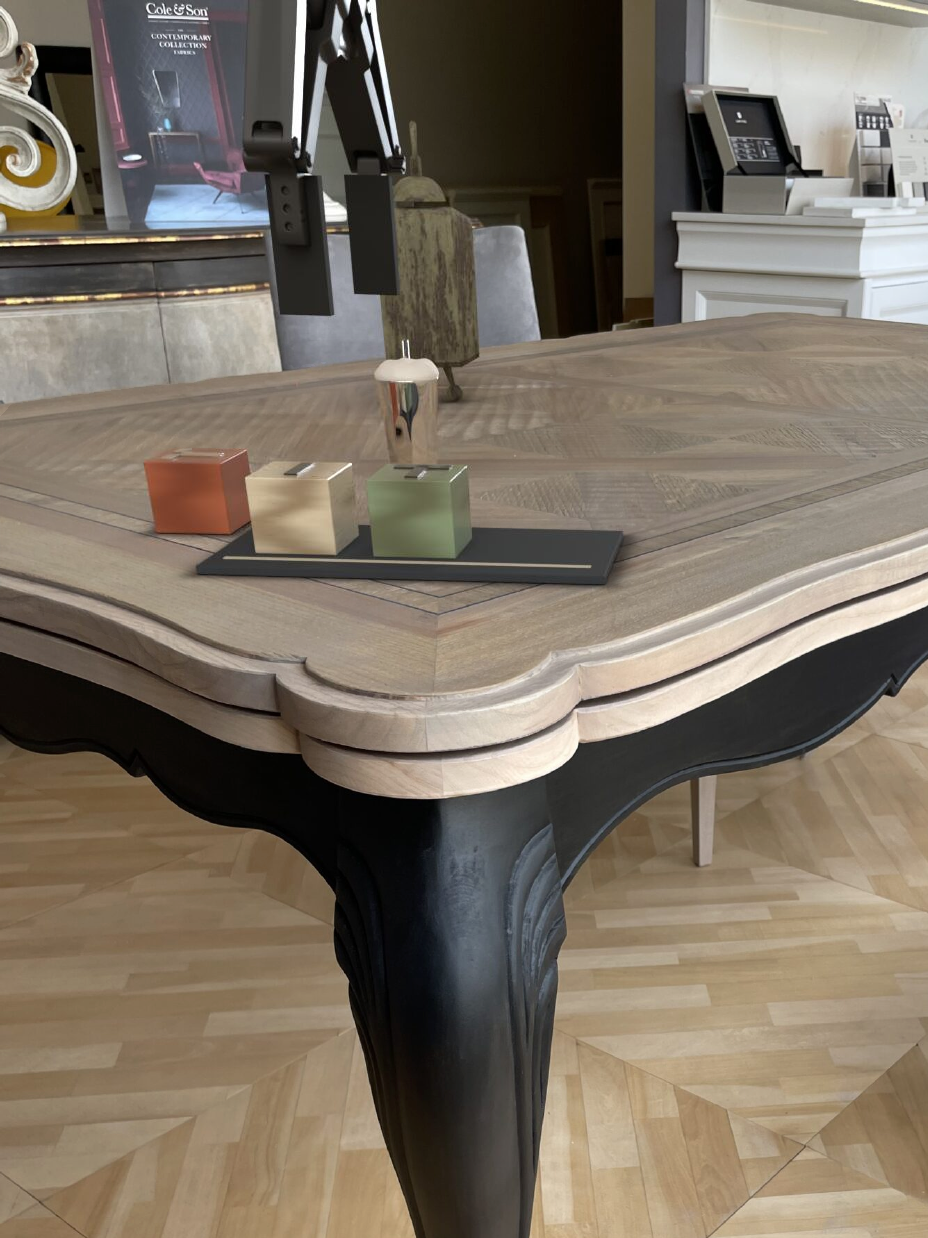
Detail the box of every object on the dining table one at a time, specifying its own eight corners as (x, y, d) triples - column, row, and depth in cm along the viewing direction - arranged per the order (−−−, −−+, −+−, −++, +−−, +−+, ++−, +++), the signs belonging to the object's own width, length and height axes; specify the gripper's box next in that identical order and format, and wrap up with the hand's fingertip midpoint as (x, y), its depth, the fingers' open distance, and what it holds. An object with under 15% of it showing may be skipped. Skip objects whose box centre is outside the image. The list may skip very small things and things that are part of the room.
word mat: (196, 574, 76) (195, 565, 76) (261, 529, 86) (259, 521, 86) (604, 584, 75) (604, 575, 75) (623, 538, 85) (623, 529, 84)
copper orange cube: (155, 533, 85) (142, 460, 83) (185, 515, 89) (174, 445, 87) (230, 534, 85) (219, 461, 83) (257, 517, 89) (247, 447, 87)
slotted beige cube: (255, 554, 79) (243, 475, 76) (282, 534, 83) (272, 459, 81) (336, 555, 78) (327, 477, 76) (359, 535, 83) (351, 460, 81)
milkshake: (447, 479, 100) (437, 339, 96) (446, 494, 96) (436, 348, 91) (387, 481, 100) (374, 340, 95) (383, 495, 95) (369, 348, 90)
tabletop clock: (393, 391, 141) (370, 123, 129) (478, 390, 142) (463, 124, 130) (390, 413, 128) (364, 118, 116) (483, 411, 129) (466, 119, 117)
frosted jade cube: (373, 557, 78) (365, 478, 76) (394, 536, 83) (387, 461, 80) (455, 559, 78) (450, 479, 76) (472, 538, 82) (467, 463, 80)
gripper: (295, -231, 54) (345, 328, 64) (436, -113, 76) (456, 289, 86) (118, -232, 54) (195, 323, 64) (309, -115, 76) (344, 286, 86)
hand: (345, 304), depth 75 cm, fingers open, 13 cm apart
